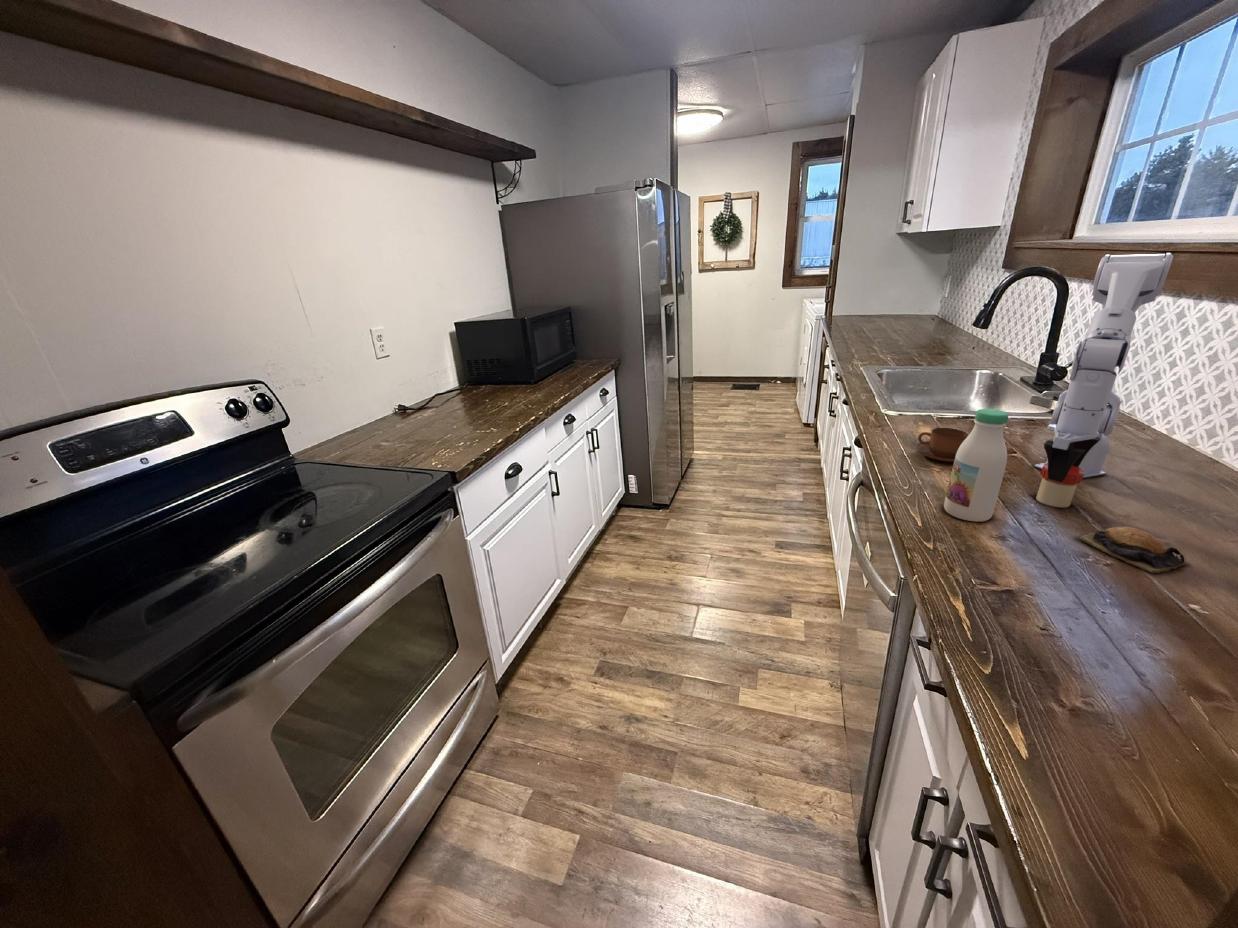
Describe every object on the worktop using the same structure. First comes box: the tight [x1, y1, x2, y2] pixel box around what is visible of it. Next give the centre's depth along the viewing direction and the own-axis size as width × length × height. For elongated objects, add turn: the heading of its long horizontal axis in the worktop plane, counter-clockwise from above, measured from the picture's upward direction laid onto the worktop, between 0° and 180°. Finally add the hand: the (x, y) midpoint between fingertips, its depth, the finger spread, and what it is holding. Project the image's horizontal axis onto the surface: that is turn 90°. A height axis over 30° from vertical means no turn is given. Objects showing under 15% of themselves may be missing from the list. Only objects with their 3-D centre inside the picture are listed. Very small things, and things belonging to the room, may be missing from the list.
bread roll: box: [1078, 526, 1187, 574], centre depth 80 cm, size 11×8×4 cm
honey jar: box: [1035, 476, 1079, 508], centre depth 96 cm, size 5×5×6 cm
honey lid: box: [1040, 462, 1084, 485], centre depth 94 cm, size 6×6×2 cm
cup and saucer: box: [916, 427, 969, 463], centre depth 118 cm, size 12×12×6 cm
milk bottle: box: [943, 408, 1009, 523], centre depth 90 cm, size 8×8×20 cm
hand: (1061, 475), depth 95 cm, fingers closed on honey lid, 6 cm apart
